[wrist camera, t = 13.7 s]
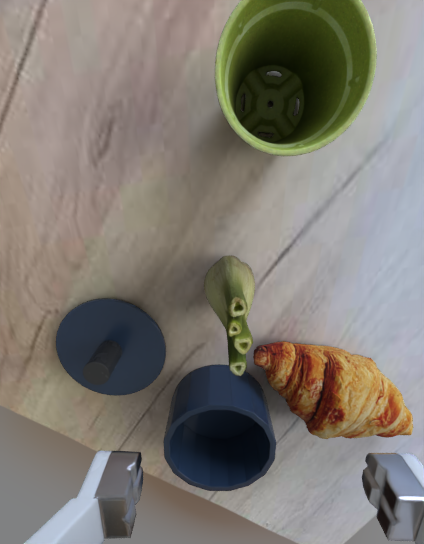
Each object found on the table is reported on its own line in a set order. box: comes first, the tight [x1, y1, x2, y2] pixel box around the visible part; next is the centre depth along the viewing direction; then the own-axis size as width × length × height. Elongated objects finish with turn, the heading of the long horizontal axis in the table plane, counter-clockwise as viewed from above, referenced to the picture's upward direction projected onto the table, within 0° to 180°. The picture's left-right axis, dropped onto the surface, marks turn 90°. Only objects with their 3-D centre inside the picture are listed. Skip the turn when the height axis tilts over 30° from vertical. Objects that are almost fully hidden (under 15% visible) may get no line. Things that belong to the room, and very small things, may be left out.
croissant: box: [253, 341, 413, 439], centre depth 31 cm, size 21×10×8 cm, turn 62°
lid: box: [56, 298, 166, 395], centre depth 30 cm, size 12×12×5 cm
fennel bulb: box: [204, 256, 255, 376], centre depth 24 cm, size 6×5×12 cm
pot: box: [164, 365, 276, 491], centre depth 32 cm, size 11×11×6 cm
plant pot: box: [215, 0, 377, 156], centre depth 21 cm, size 9×9×9 cm
